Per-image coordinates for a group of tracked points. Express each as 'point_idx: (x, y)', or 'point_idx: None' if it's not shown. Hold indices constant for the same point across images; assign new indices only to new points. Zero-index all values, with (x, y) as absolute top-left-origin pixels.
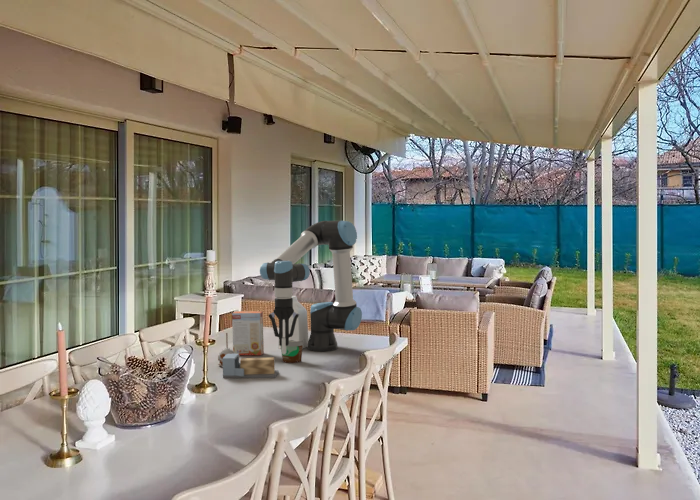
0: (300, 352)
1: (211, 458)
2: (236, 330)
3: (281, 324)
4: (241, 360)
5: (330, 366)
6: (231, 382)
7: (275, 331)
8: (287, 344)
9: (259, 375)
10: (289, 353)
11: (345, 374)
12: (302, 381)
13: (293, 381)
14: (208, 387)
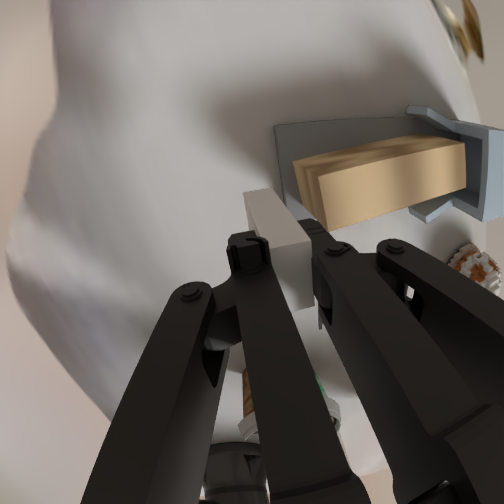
0: (246, 396)
1: None
2: None
3: (413, 392)
4: (461, 144)
5: (111, 342)
6: (421, 58)
7: (433, 271)
8: (236, 239)
9: (350, 121)
10: None
11: (15, 256)
12: (119, 100)
13: (161, 87)
14: (454, 16)
